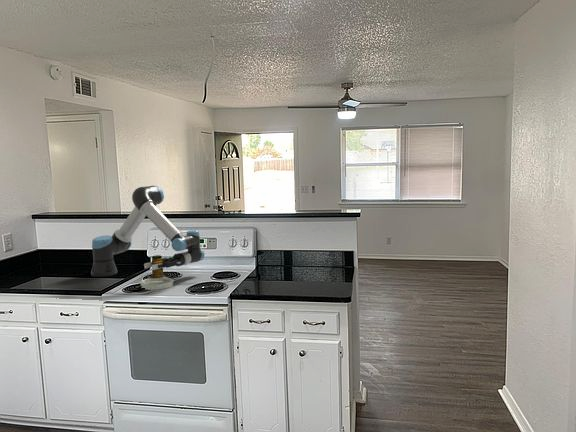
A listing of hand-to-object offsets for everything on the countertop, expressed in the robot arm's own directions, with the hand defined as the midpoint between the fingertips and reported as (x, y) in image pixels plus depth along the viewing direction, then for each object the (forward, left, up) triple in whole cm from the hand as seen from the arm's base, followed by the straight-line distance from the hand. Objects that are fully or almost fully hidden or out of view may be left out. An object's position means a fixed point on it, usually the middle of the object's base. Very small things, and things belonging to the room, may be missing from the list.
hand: (148, 266), depth 252 cm
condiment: (-4, +2, -7) cm, 9 cm away
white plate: (-4, +3, -12) cm, 13 cm away
